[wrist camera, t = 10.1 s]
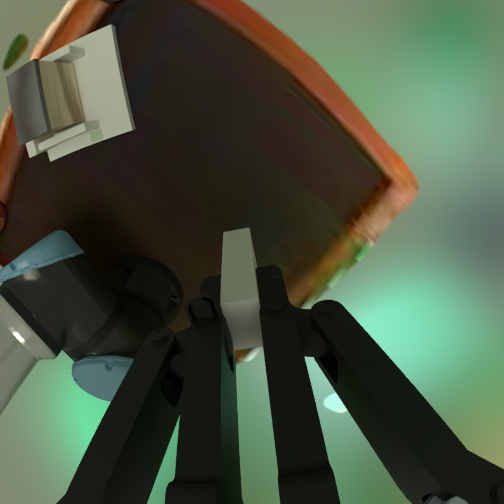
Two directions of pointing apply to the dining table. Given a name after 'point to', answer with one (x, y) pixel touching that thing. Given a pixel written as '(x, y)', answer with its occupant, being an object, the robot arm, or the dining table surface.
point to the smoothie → (2, 216)
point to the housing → (91, 95)
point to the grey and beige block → (44, 99)
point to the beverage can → (110, 1)
